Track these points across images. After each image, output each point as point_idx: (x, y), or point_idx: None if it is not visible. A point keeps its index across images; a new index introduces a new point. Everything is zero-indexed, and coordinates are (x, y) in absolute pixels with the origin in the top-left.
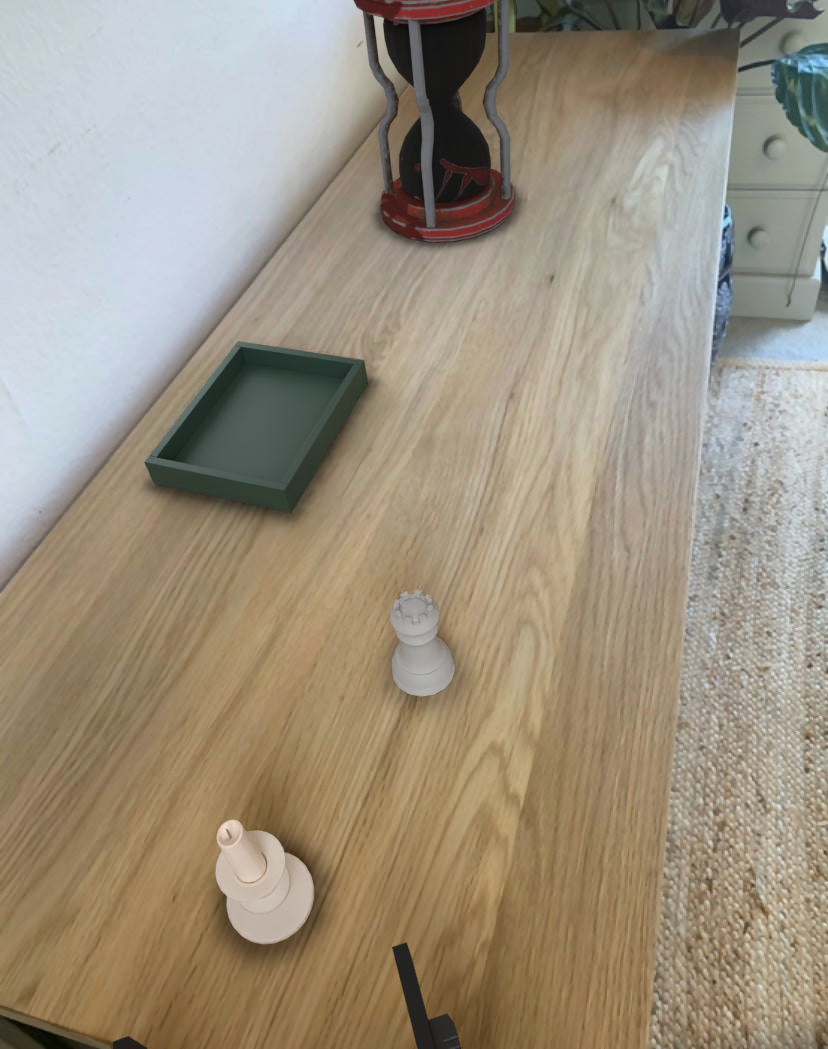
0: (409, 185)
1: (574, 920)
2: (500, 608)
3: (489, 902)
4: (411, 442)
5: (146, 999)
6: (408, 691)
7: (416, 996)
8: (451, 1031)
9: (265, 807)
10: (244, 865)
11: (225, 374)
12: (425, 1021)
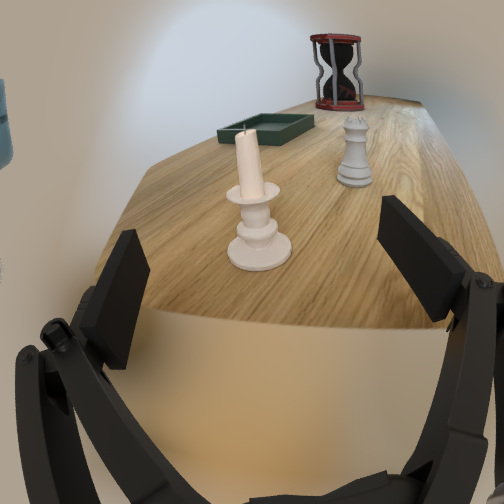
0: (327, 94)
1: None
2: (389, 169)
3: None
4: (335, 135)
5: (162, 290)
6: (347, 182)
7: (413, 218)
8: (448, 245)
9: None
10: (251, 169)
11: (254, 119)
12: (427, 230)
